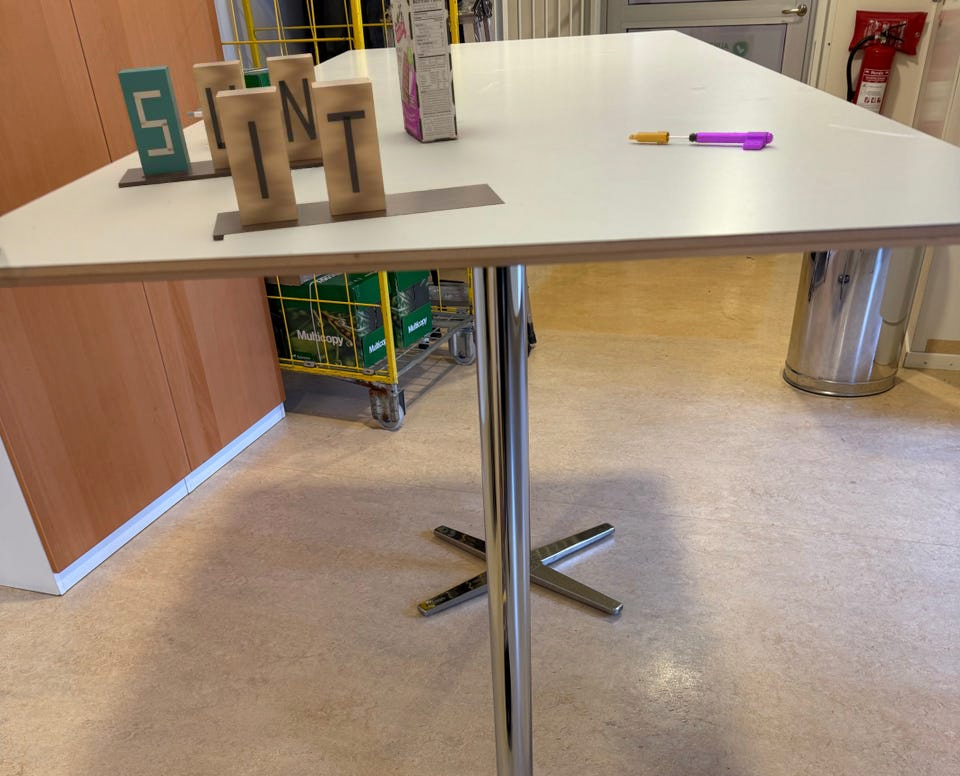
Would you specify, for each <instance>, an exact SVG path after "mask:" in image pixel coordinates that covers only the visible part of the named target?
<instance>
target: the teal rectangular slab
mask: <svg viewBox="0 0 960 776" xmlns="http://www.w3.org/2000/svg"><path fill="white" fill-rule="evenodd" d="M117 77H118V80H119V84H120V89H121V92H122V95H123V99H124V100H123V101H124V104H125V107H126V111H127V115H128V118H129V122H130V126H131V130H132V133H133V138H134V142H135V145H136V149H137V154H138V157H139V162H140V164H141V168H142V169H143V173H144V175H154V174H164V173H173V172H183V171H189V168H190V166H191V159H190V153H189V150H188V146H187V142H186V137H185V132H184V127H183V123H182V119H181V115H180V111H179V107H178V102H177V97H176V93H175V90H174V85H173V80H172V76H171V72H170V67H169V65H158V66H147V67H137V68H136V67H135V68H124V69H122V70H120V71H119V72H117Z"/></svg>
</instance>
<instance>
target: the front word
mask: <svg viewBox="0 0 960 776" xmlns="http://www.w3.org/2000/svg"><path fill="white" fill-rule="evenodd" d="M311 88H312V94H313V101H314V107H315V114H316V120H317V127H318V134H319V140H320V147H321V153H322V160H323V166H322V167H323V173H324V180H325V186H326V192H327V199H328V200H325V201H323V200H322V201H316V202H315V201H314V202H306V203H297V199H296V193H295V187H294V182H293V175H292V171H291V170H292V169H290V164H289V158H288V152H287V146H286V140H285V135H284V129H283V123H282V117H281V111H280V106H279V100H278V94H277V88H276V86H271V85H270V86H262V87H260V86H259V87H249V89H238V90H228V91H218V93H217V95H216V101H217V106H218V111H219V116H220V121H221V125H222V130H223V135H224V140H225V145H226V149H227V154H228V159H229V164H230V169H231V173H232V175H231V178H232V182H233V187H234V192H235V197H236V201H237V206H238V210H234V211H233V210H232V211H225V212H217V215H216V219H215V224H214V229H213V232H212V233H213V234H212V239H213V241H221V240H225V236H226V235H227V236H228V235H236V234H237V235H238V234H247V233H253V232H263V231H271V230H281V229H290V228H299V227H307V226H308V227H309V226H315V225H326V224H334V223H335V224H336V223H344V222H353V221H361V220H371V219H378V218H389V217H397V216H405V215H406V216H407V215H416V214H423V213H424V214H425V213H433V212H441V211H450V210H460V209H468V208H478V207H486V206H495V205H496V206H497V205H504V204H506V201H505V202H504V200H503V199H502V198H501V197H500V196H499V195H498V194H497V193H496V192H495V191H494V190H493V189H492V187H491V186H489V184H488V183H480V184H470V185H462V186H461V185H460V186H452V187H443V188H442V187H441V188H434V189H425V190H424V189H423V190H415V191H406V192H398V193H396V192H395V193H389V194H386V193H385V185H384V176H383V169H382V158H381V150H380V142H379V134H378V125H377V117H376V109H375V102H374V101H375V99H374V91H373V82H372V81H371V80H370V78H369V77H366V76H364V77H355V78H344V79H343V78H342V79H333V80H324V81H316V82H312V83H311Z"/></svg>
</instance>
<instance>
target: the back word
mask: <svg viewBox="0 0 960 776" xmlns="http://www.w3.org/2000/svg"><path fill="white" fill-rule="evenodd" d="M266 66H267V71H268V77H269V78H268V79H269V84H270V86H276V88H277V94H278V100H279V106H280V111H281V117H282V123H283V129H284V135H285V140H286V146H287V152H288V158H289V164H290V169H291V170H297V169H306V168H307V169H308V168H316V167H323V160H322V153H321V147H320V140H319V134H318V127H317V120H316V114H315V107H314V101H313V94H312V88H311V83H312V82H317V78H316V71H315V64H314V57H313V55H312V53H300V54H288V55H279V56H277V55H276V56H267V57H266ZM192 73H193V78H194V82H195V87H196V91H197V97H198V101H199V104H200V105H199V106H200V109H201V110H202V115H203V117H202V119H203V123H204V128H205V132H206V138H207V142H208V147H209V151H210V155H211V159H209V160H201V161H192V162H191V161H190V162H191V166H190V168H189V171H183V172H173V173H164V174H154V175H144V173H143V169H142V167H134V168H127V170H126V172H125V173H124V174H123V176H122V177H121V179H120V180H119V182H118V183H117V185H118V188H126V187H127V188H128V187H135V186H136V187H137V186H145V185H144V184H146V185H154V184H153V183H155V184H162V183H161V182H165V183H169V182H168V181H174V182H181V181H182V182H183V180H184V181H193V180H202V179H201V178H203V179H210V178H220V176H222V177H229V176H230V177H232V173H231V169H230V164H229V159H228V154H227V149H226V145H225V140H224V135H223V130H222V125H221V121H220V116H219V111H218V106H217V101H216V95H217V93H218V91H228V90H238V89H245V88H246V86H245V81H244V75H243V70H242V64H241V60H240V59H234V60H225V61H215V62H214V61H213V62H203V63H194V65H193V66H192ZM192 179H193V180H192Z"/></svg>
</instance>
